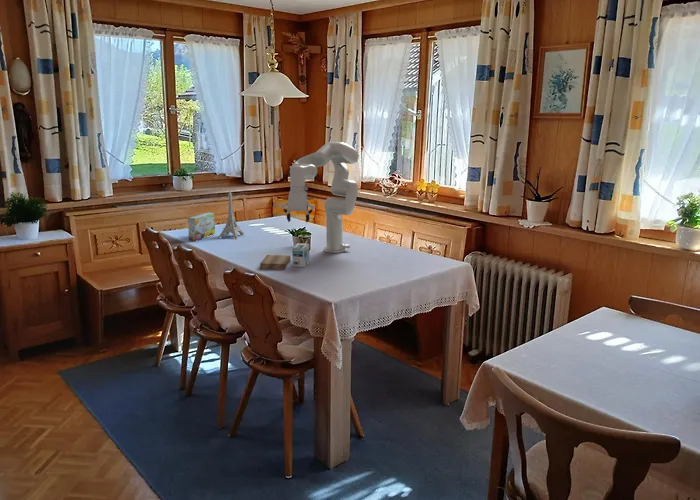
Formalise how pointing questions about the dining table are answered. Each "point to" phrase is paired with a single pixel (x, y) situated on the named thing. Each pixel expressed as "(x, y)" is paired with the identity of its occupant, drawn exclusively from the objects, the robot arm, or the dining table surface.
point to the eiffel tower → (231, 221)
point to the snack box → (201, 226)
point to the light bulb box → (300, 255)
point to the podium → (275, 262)
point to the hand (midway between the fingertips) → (298, 221)
